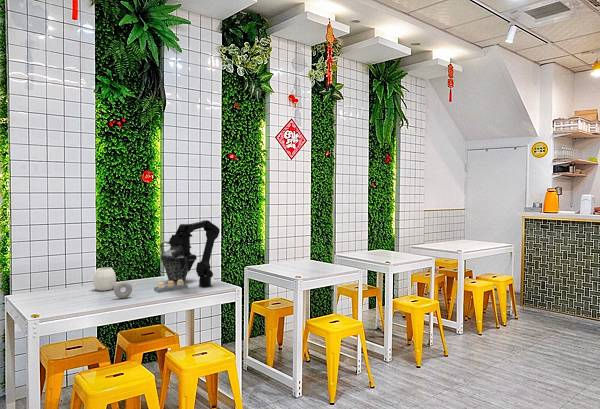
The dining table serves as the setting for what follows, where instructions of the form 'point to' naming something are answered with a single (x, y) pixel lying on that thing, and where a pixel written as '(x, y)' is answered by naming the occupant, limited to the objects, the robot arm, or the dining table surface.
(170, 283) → the egg
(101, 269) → the cream rounded canister
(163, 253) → the jug
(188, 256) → the robot arm
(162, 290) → the carton
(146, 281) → the dining table surface
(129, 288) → the grey ring
